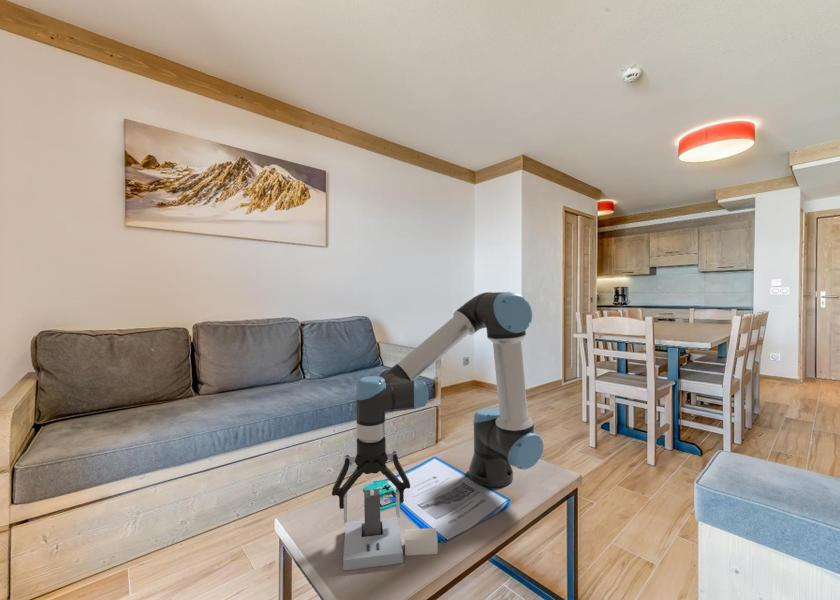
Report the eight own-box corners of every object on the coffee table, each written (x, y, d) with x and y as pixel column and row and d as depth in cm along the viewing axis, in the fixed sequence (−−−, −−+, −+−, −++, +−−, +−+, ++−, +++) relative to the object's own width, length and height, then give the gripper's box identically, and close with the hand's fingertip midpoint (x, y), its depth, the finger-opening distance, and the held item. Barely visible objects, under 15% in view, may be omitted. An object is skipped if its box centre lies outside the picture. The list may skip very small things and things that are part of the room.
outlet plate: (397, 525, 100) (397, 516, 100) (403, 562, 86) (402, 551, 86) (345, 531, 98) (345, 521, 98) (343, 570, 84) (343, 559, 84)
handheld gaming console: (384, 478, 124) (405, 500, 111) (384, 481, 124) (405, 503, 111) (361, 485, 120) (380, 509, 107) (361, 488, 120) (380, 512, 107)
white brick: (435, 543, 93) (435, 528, 93) (437, 554, 89) (437, 538, 89) (404, 544, 93) (404, 529, 93) (405, 556, 89) (405, 540, 89)
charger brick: (379, 532, 97) (379, 487, 97) (380, 542, 93) (379, 495, 93) (364, 534, 97) (364, 488, 96) (364, 544, 93) (364, 497, 93)
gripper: (416, 428, 100) (416, 503, 101) (323, 434, 96) (324, 513, 97) (420, 439, 93) (421, 520, 93) (320, 446, 89) (321, 531, 89)
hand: (372, 516), depth 95 cm, fingers open, 13 cm apart
